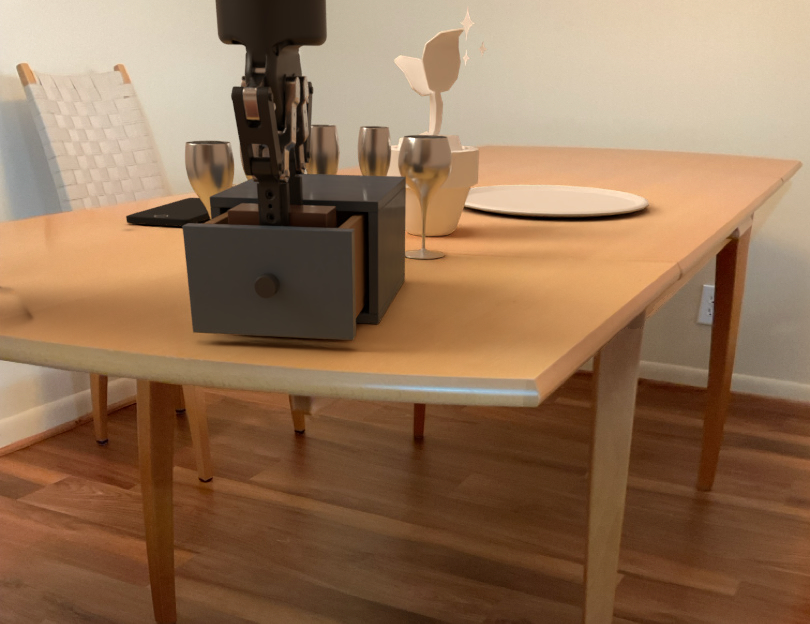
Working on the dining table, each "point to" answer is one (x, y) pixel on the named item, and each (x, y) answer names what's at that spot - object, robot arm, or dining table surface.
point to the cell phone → (172, 214)
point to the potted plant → (431, 80)
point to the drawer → (278, 277)
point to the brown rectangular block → (298, 215)
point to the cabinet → (352, 195)
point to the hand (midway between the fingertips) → (282, 230)
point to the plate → (553, 201)
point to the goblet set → (417, 161)
